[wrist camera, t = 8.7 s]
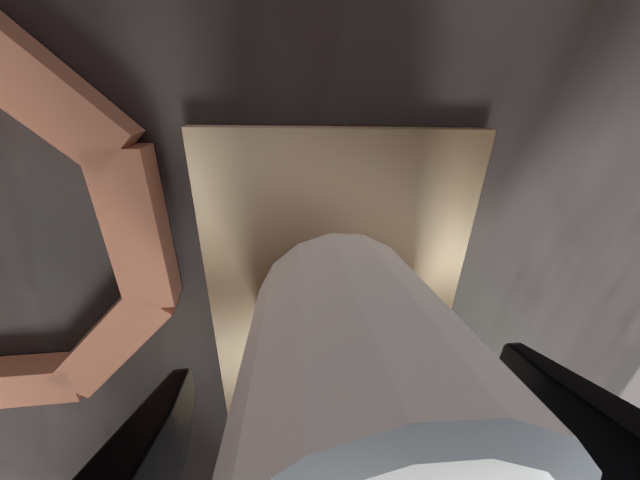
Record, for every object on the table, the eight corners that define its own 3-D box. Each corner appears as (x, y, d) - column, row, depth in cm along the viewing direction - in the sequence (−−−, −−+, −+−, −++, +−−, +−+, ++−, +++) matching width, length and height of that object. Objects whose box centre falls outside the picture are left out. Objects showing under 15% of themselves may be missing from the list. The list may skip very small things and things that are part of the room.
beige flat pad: (422, 390, 15) (427, 401, 15) (230, 409, 14) (228, 421, 14) (484, 127, 10) (496, 130, 9) (186, 124, 9) (181, 127, 8)
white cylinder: (259, 383, 13) (241, 668, 7) (218, 230, 10) (112, 491, 3) (422, 356, 13) (553, 597, 7) (434, 201, 10) (683, 384, 4)
